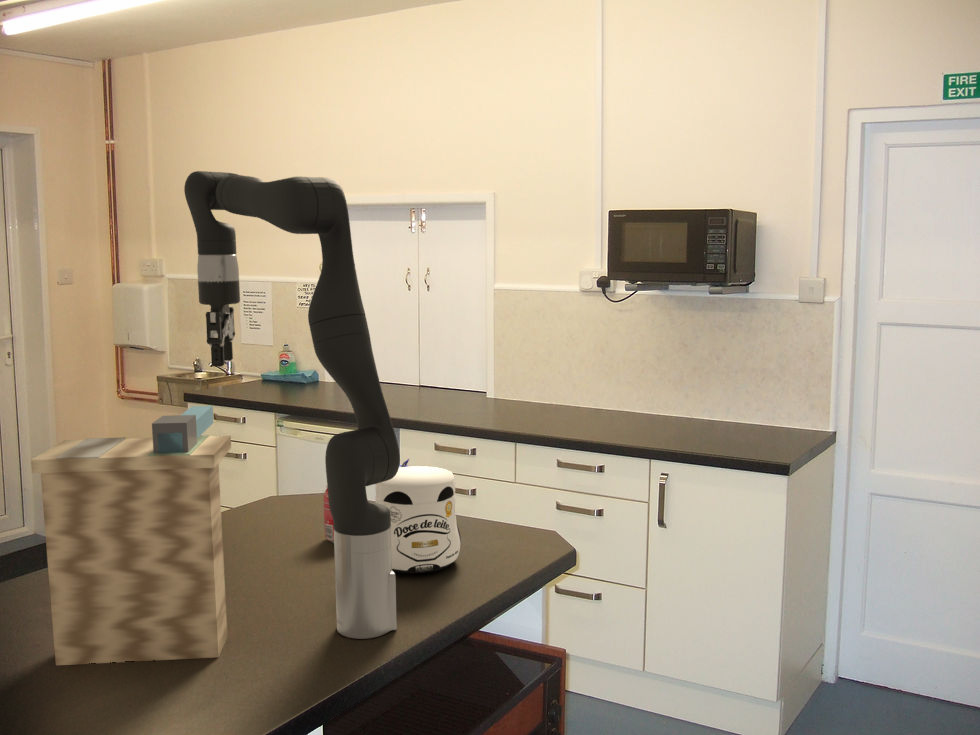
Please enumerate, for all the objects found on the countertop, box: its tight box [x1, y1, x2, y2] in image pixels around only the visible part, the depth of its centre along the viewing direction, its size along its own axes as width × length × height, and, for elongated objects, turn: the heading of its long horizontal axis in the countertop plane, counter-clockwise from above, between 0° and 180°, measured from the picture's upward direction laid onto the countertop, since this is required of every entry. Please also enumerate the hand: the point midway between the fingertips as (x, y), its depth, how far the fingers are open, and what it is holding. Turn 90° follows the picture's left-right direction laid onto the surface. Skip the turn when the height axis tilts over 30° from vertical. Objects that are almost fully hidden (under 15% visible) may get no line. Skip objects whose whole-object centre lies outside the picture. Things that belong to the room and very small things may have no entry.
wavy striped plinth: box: [30, 434, 232, 666], centre depth 139 cm, size 26×13×32 cm, turn 96°
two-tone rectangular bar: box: [151, 405, 214, 453], centre depth 143 cm, size 5×22×4 cm, turn 6°
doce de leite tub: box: [375, 465, 462, 574], centre depth 174 cm, size 17×17×18 cm
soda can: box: [323, 485, 334, 544], centre depth 189 cm, size 7×7×12 cm
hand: (222, 363), depth 171 cm, fingers open, 8 cm apart
